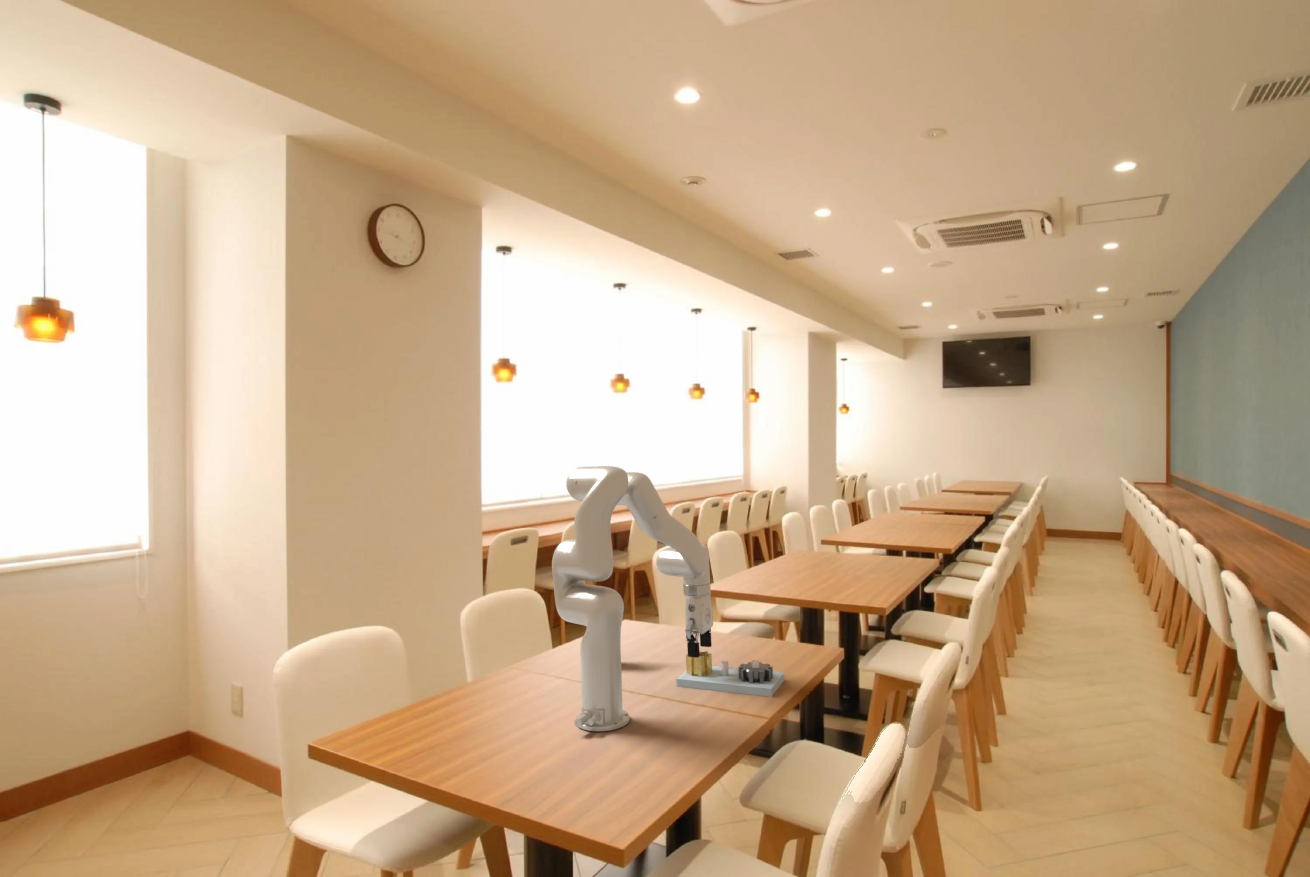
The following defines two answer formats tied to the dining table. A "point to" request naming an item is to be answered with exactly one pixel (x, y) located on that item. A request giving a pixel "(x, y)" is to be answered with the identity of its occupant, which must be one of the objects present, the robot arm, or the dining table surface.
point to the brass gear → (699, 664)
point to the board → (730, 681)
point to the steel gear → (755, 673)
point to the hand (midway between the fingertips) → (700, 651)
